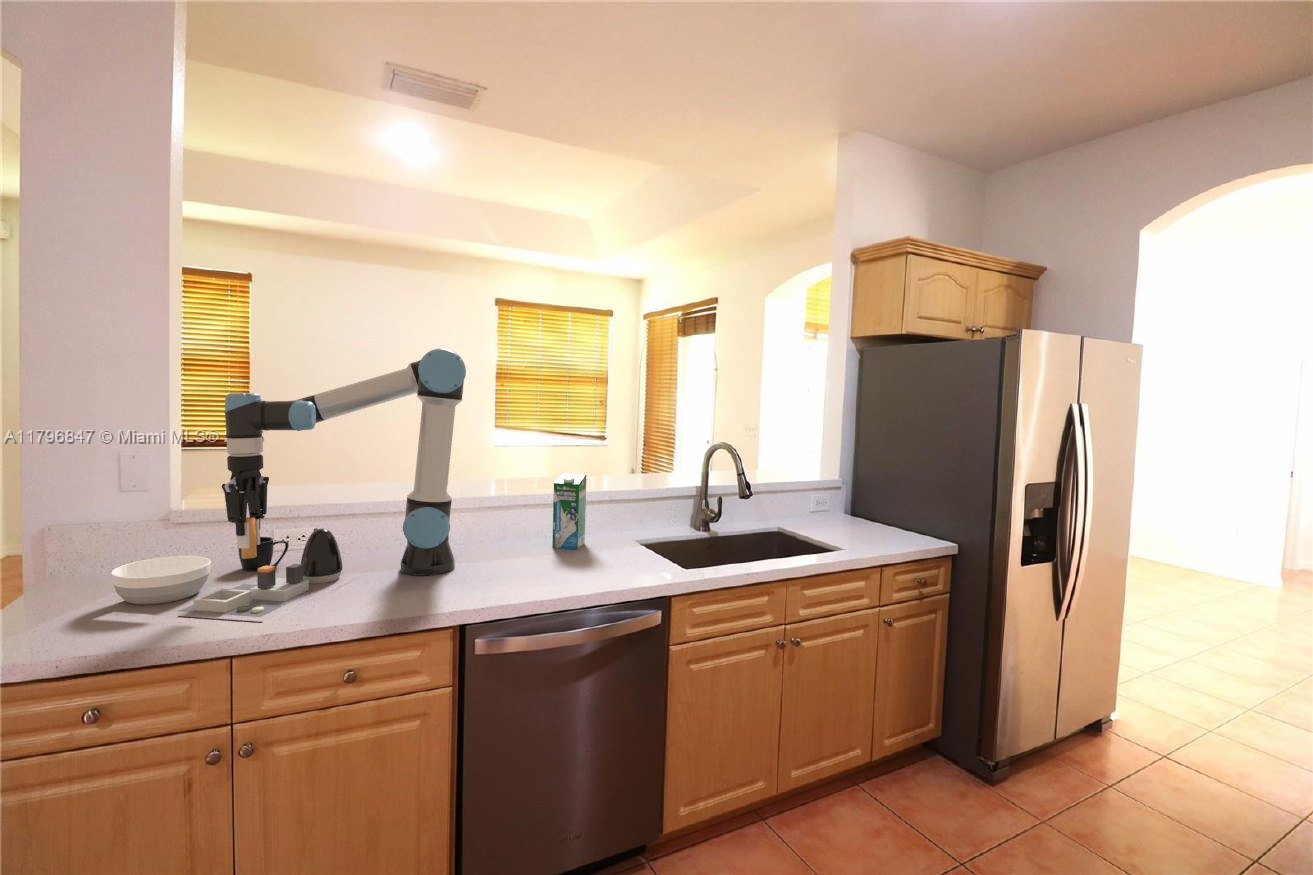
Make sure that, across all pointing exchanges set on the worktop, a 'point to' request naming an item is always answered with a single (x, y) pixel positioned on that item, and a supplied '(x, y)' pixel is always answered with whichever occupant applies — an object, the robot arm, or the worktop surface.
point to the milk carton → (569, 511)
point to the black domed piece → (321, 557)
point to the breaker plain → (294, 573)
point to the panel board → (248, 600)
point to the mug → (262, 555)
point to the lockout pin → (252, 550)
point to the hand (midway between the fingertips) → (249, 545)
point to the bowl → (161, 579)
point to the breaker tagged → (266, 577)
